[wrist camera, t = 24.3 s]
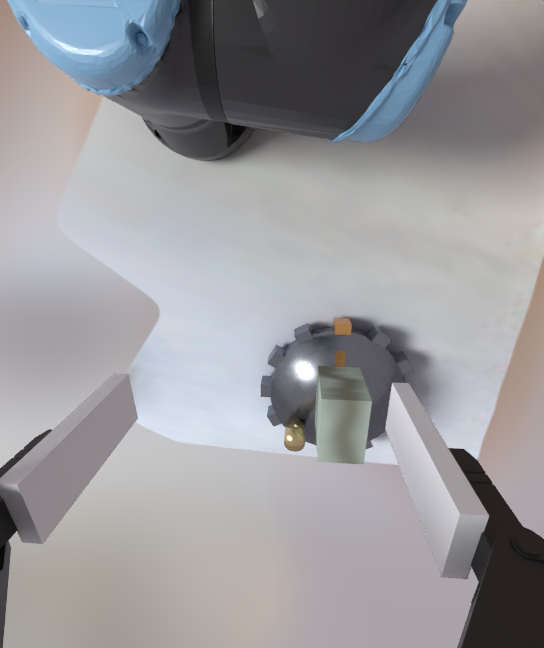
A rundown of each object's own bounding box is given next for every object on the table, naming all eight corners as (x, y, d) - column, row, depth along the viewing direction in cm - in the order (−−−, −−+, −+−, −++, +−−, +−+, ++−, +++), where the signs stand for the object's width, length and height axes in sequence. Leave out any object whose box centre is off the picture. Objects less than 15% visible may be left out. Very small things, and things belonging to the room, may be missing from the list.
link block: (315, 421, 48) (317, 461, 41) (317, 366, 44) (321, 399, 37) (353, 423, 48) (363, 464, 40) (359, 367, 44) (371, 401, 37)
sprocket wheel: (326, 461, 55) (329, 496, 48) (235, 379, 50) (225, 405, 44) (438, 391, 48) (460, 420, 41) (344, 286, 43) (352, 301, 37)
